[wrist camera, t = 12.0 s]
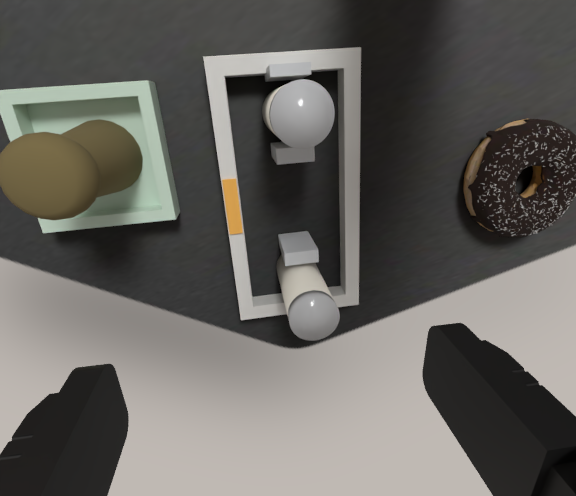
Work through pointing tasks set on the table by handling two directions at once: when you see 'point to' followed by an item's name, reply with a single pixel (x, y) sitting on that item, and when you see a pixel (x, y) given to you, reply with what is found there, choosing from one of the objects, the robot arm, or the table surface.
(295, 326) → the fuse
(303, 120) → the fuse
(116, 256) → the table surface
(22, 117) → the tray
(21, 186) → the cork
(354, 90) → the white rectangular frame
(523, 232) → the donut
